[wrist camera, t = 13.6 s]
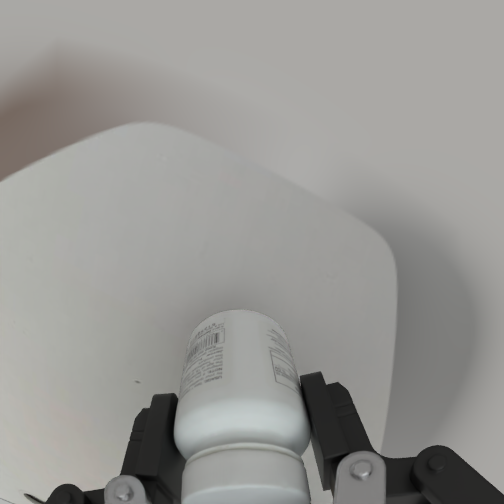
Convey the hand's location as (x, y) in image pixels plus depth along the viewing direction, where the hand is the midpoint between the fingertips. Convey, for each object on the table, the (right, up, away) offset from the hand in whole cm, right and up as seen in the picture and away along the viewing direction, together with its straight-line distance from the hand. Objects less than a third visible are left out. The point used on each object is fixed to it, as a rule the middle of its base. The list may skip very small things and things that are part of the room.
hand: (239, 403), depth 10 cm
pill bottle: (0, +1, +3) cm, 4 cm away
